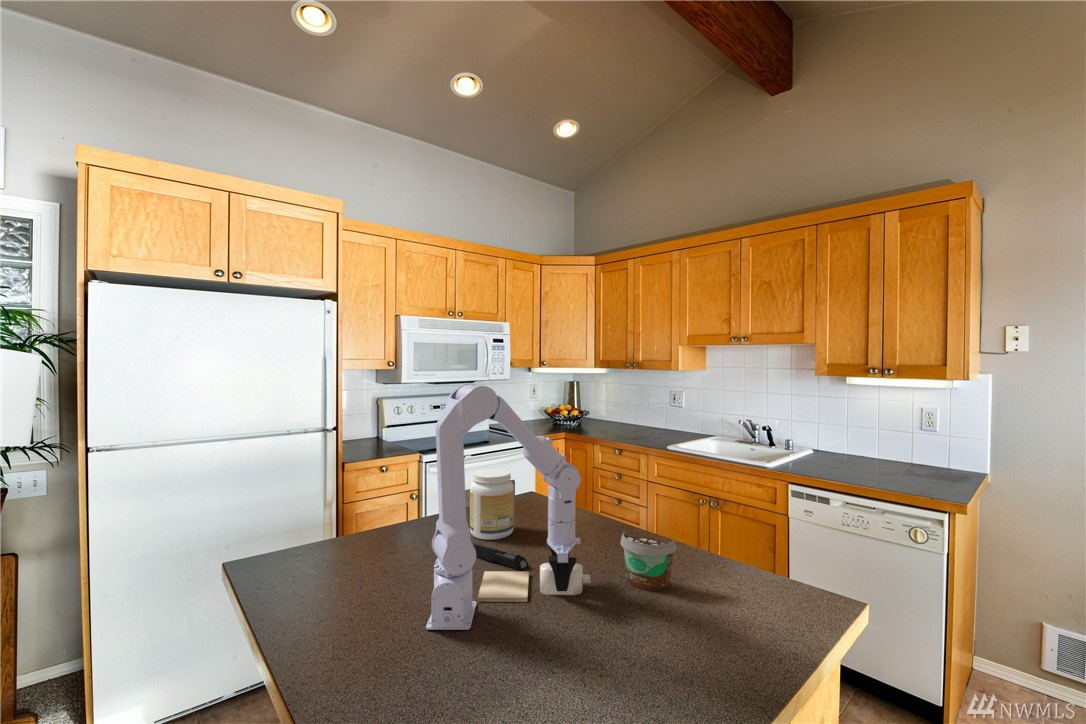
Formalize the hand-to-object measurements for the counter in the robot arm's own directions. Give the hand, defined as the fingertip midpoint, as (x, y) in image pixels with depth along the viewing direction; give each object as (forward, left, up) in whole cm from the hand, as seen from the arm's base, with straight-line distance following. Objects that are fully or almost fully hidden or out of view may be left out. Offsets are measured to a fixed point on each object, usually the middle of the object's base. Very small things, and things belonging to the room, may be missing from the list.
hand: (561, 582), depth 103 cm
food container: (+2, -18, -2) cm, 18 cm away
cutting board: (+1, +12, -2) cm, 12 cm away
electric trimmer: (+14, +14, -2) cm, 20 cm away
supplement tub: (+33, +18, -2) cm, 38 cm away
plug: (0, 0, -2) cm, 2 cm away
